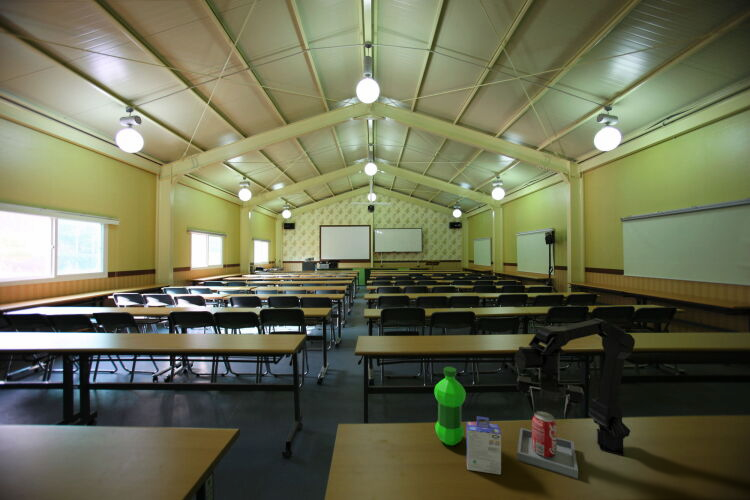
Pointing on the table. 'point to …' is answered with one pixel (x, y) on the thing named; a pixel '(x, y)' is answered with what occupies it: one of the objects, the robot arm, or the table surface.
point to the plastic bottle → (449, 408)
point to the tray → (559, 463)
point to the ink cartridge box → (483, 446)
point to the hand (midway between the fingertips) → (548, 414)
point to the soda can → (544, 434)
